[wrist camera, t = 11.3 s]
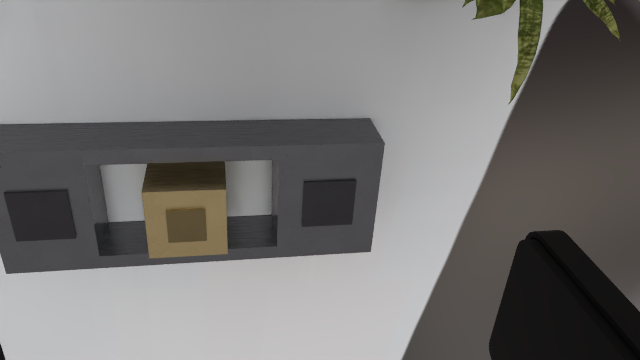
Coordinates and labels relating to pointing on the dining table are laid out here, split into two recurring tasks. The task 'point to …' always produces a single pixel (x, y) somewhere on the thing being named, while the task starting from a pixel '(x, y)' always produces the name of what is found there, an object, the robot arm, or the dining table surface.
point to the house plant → (534, 28)
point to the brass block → (185, 209)
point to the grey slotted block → (184, 146)
